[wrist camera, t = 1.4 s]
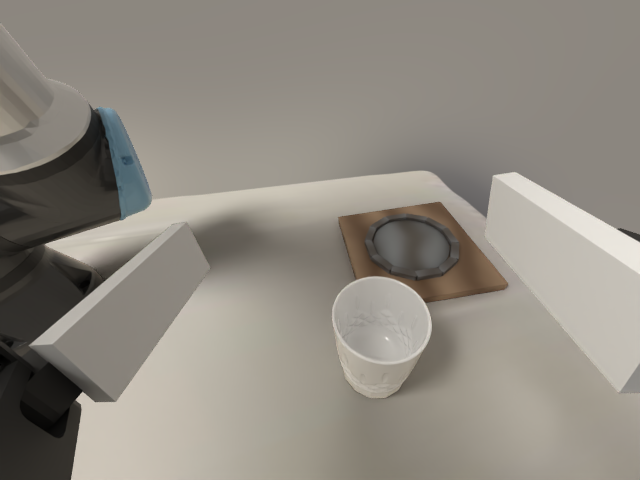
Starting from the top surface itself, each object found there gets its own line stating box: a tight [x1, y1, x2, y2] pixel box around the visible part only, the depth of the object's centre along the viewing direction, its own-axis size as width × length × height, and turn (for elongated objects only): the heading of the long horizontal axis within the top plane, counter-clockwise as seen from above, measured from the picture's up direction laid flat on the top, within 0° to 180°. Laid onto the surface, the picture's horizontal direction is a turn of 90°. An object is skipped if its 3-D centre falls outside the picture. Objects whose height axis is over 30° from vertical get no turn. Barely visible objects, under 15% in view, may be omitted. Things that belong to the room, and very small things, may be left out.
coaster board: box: [338, 202, 508, 303], centre depth 39 cm, size 18×18×2 cm
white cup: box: [332, 276, 432, 398], centre depth 25 cm, size 8×8×10 cm
